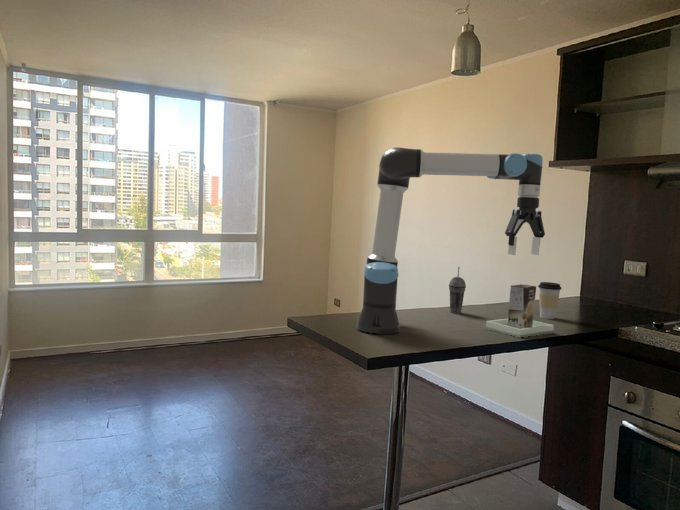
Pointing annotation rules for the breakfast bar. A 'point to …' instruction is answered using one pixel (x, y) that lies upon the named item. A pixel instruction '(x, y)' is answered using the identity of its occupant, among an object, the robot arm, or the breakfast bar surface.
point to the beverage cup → (456, 294)
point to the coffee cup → (548, 299)
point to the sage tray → (502, 327)
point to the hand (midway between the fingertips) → (523, 254)
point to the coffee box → (521, 306)
